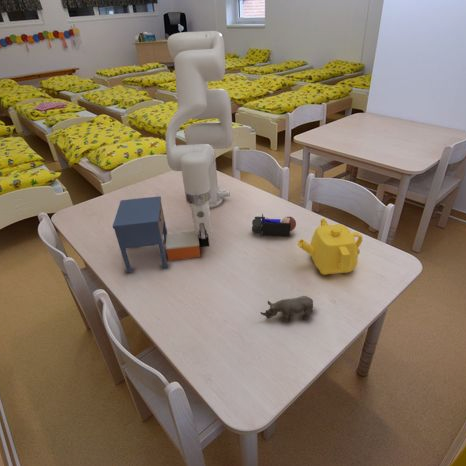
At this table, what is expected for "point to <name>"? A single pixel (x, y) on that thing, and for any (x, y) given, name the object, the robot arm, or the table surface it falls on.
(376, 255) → the table surface
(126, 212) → the drawer unit
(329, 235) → the teapot
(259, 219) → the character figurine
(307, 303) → the rhino figurine
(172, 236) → the storage box
